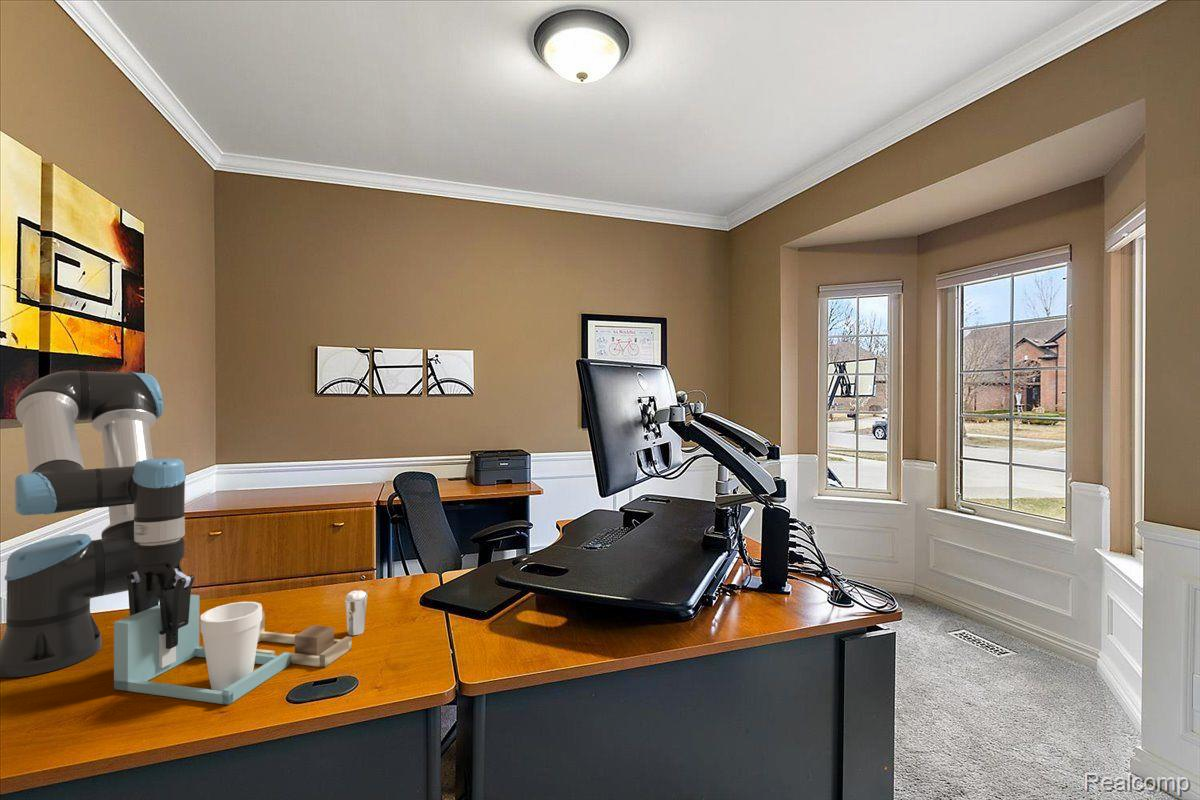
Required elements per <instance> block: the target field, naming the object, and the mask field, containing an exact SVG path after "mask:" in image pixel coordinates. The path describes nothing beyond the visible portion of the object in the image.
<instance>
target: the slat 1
mask: <svg viewBox="0 0 1200 800" xmlns="http://www.w3.org/2000/svg"><path fill="white" fill-rule="evenodd" d="M265 612H266V611H264V610H262V621H261V623H260V630H259V636H258V643H260V642H269V643H270V642H271V643H280V644H289V645H295V635H296V634H294V633H293V634H292V633H282V632H274V631H273V632H272V631H265V629H266V628H265V627H266V626H265V623H266V621H265V620H266V619H265ZM256 653H261V654H270V655H276V651H275V650H270V649H260V648H257V649H256Z"/></svg>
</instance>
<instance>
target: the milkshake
mask: <svg viewBox="0 0 1200 800" xmlns="http://www.w3.org/2000/svg"><path fill="white" fill-rule="evenodd" d="M369 590H370V588H368V589H367V590H366V592H365V591H363V590H351V591H350V592H348V593H347V594H346V595H345V597H344V602H345V603H344V604H345V614H346V627H347V634H348V635H349V636H351V637H352V636H359V635H362V634H363V633H364V632H365V626H366V611H367V602H368V593H369Z"/></svg>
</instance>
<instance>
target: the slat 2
mask: <svg viewBox="0 0 1200 800" xmlns="http://www.w3.org/2000/svg"><path fill="white" fill-rule="evenodd" d="M352 639H353V638H352V636H348V635H347V636H345V637H343V638H341V639H338V638H334V645H333V646H331V647H330V648H328V649H327V650H326V651H324V652H323V653H321V654H320V656H316V655H307V654H298V653H295V652H289V651H287V652H288V653H290V664H295V665H301V666H310V667H319V668H326V667H328V666H329V665H331V664H332V663H333V662H335V661H336V660H337V659H339V658H340V657H341V656H343V655H345V654H346V653H347V652H348V651H350V650H351V649H352V645H353V643H352V642H353V641H352ZM284 652H285V651H283V652H281V653H280V654H279V655H281V654H282V653H284Z"/></svg>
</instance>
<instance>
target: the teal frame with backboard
mask: <svg viewBox="0 0 1200 800" xmlns="http://www.w3.org/2000/svg"><path fill="white" fill-rule="evenodd" d="M162 630H163V627H162V618H161V610H160V604H159V605H157V606H155V607H152V608H149V609H147V610H144V611H142V612H139V613H136V614H134V615H131V616H130V615H129V616H126V617H124V618H121V619H119V620H116V621H113V689H114V690H119V691H127V692H133V693H141V694H145V695H146V694H148V695H155V696H162V697H169V698H177V699H184V700H191V701H198V702H205V703H206V702H207V703H211V704H212V703H213V704H220V705H228V706H229V705H231V704H233V703H234V702H235V701H237V700H239V699H240V698H241V697H243V696H245V695H246V694H248V693H249V692H250V691H252V690H254V689H255V688H257V687H258V686H260V685H262V684H264V683H265V682H266V681H267V680H269V679H271V678H272V677H274V676H275V675H277V674H278V673H280V672H281V671H283V670H284V669H286V668H287V667H290V665H291V663H290V653H291V652H289V651H283V652H284V653H283V652H281V653H282V654H281V653H280V654H281V655H280V654H279V655H277V654H275V655H270V654H261V653H256V656H255V663H254V665H255V664H257V665H261V666H260V667H258V668H256V669H254V670H253V672H251V673H250V674H248V675H246V676H245V677H243V678H242V679H240V680H238V681H237V682H235V683H233V684H232V685H230V686H228V687H227V688H225V689H224V690H223V691H217V690H212V689H208V688H200V687H194V686H193V687H192V686H185V685H177V684H172V683H164V682H156V681H150V680H152V679H154V678H156V677H157V676H159V675H162V674H163V673H166V672H167V671H170V670H171V669H173V668H175V667H177V666H179V665H181V664H183V663H185V662H187V661H189V660H191V659H192V658H195V657H198V658H205V659H206V655H205V648H204V646H201V645H200V595H199V594H193V593H191V596H190V609H189V622H188V624H187V625H185V626H183V627H181V628H179V629H178V645H177V646H176V661H175V662H173V663H171V664H169V665H167V666H165V667H163V668H159V632H160V631H162ZM288 652H289V653H288Z"/></svg>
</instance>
